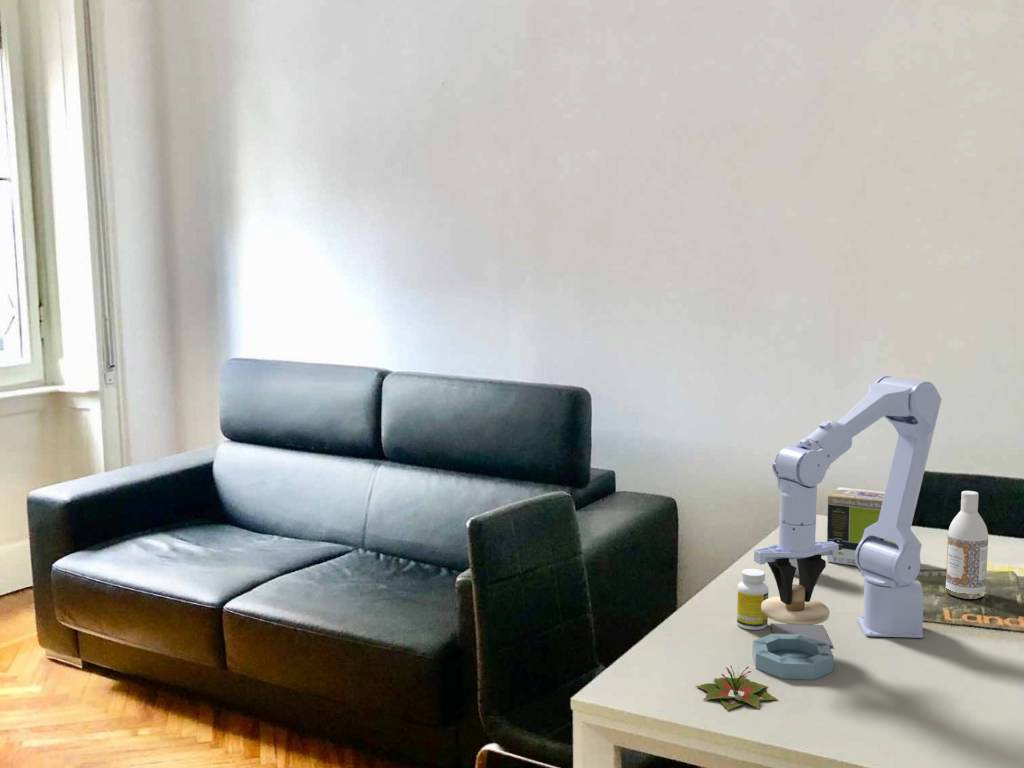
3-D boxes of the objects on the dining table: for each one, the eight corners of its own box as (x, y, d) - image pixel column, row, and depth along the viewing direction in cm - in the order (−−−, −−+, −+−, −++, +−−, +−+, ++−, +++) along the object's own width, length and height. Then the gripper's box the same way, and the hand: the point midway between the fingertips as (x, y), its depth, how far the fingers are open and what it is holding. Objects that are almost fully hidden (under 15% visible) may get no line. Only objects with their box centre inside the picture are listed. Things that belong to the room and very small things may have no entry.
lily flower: (680, 687, 156) (681, 659, 155) (746, 674, 160) (746, 646, 160) (724, 721, 145) (724, 691, 144) (793, 706, 149) (794, 676, 149)
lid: (843, 618, 163) (844, 593, 162) (789, 629, 159) (790, 604, 158) (799, 595, 173) (800, 572, 172) (747, 605, 169) (748, 581, 168)
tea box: (910, 560, 213) (912, 492, 211) (899, 574, 205) (902, 503, 203) (837, 549, 221) (839, 484, 219) (825, 562, 213) (826, 494, 211)
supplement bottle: (768, 631, 176) (769, 577, 175) (736, 630, 177) (737, 576, 176) (767, 620, 182) (768, 567, 180) (736, 618, 183) (737, 566, 181)
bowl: (823, 649, 168) (824, 635, 168) (837, 680, 156) (837, 665, 156) (750, 647, 170) (750, 632, 169) (758, 677, 158) (758, 662, 158)
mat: (822, 627, 178) (822, 625, 178) (832, 647, 169) (832, 645, 169) (770, 625, 179) (770, 623, 179) (776, 645, 170) (777, 643, 170)
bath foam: (937, 591, 194) (941, 490, 192) (964, 586, 197) (968, 486, 194) (966, 603, 188) (971, 498, 185) (993, 597, 191) (998, 494, 188)
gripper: (822, 510, 169) (819, 588, 171) (745, 518, 165) (743, 598, 167) (847, 521, 163) (844, 602, 165) (767, 529, 159) (765, 612, 161)
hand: (795, 601), depth 165 cm, fingers closed on lid, 3 cm apart
